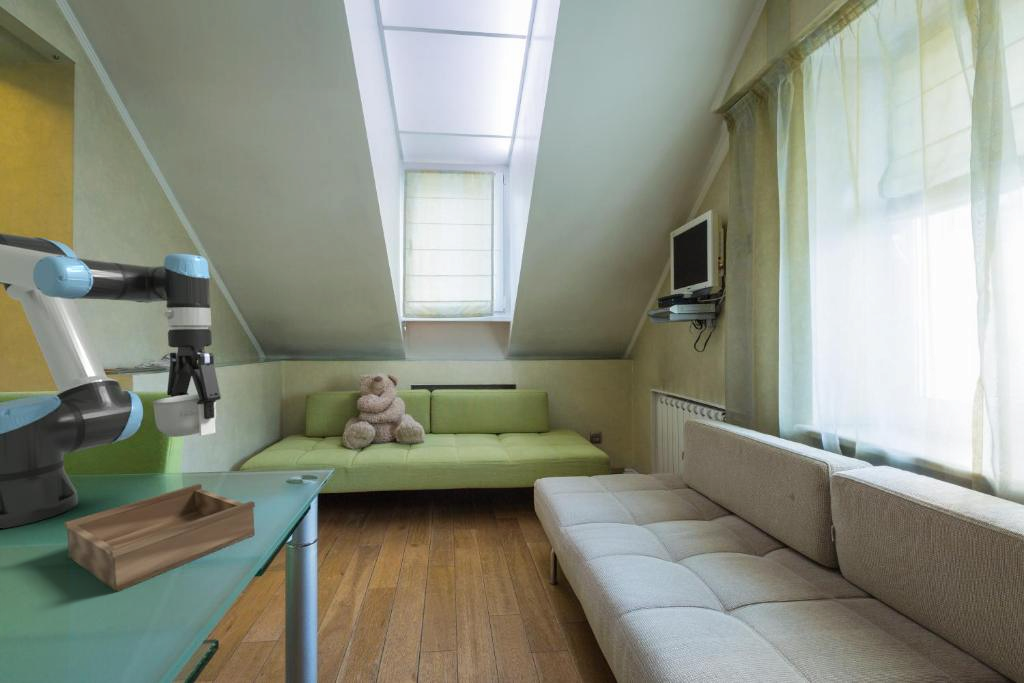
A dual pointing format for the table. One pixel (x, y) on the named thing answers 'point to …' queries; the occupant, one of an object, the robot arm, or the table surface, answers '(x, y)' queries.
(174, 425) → the teacup
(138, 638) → the table surface
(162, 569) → the crate
